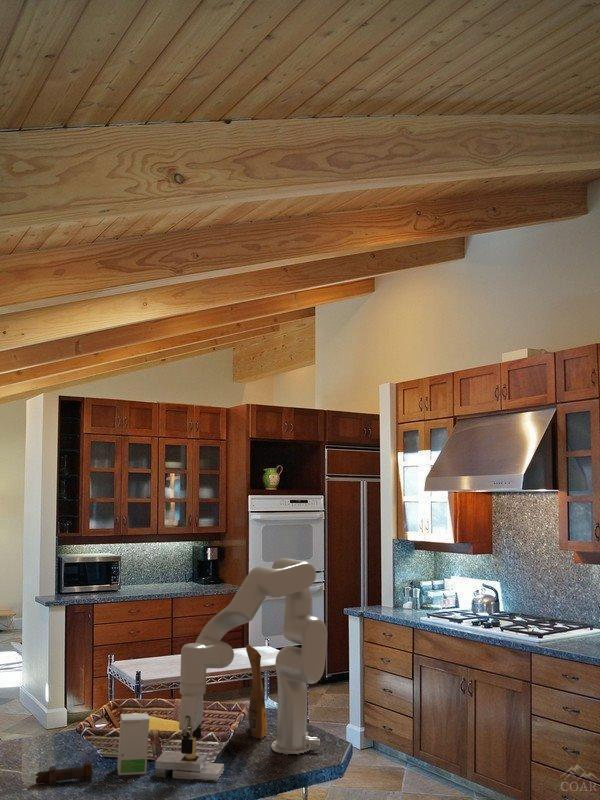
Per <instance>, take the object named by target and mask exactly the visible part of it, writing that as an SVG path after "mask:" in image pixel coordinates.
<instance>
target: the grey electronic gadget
mask: <svg viewBox="0 0 600 800" xmlns="http://www.w3.org/2000/svg"><path fill="white" fill-rule="evenodd" d="M199 754H201V753H196V762H193V761H185V754H182V753H181V752H176V751H175V752H174V751H163V752H162V753H161V754H160V755H159V757H157V759H156V760H155V764H154V765H155V766H154V777H155V778H156V777H157V778H166V777H167V776H168V774H169V773H170V772H171V770H172V779H182V780H184V779H185V780H193V779H204V780H203V781H207V780H214V781H213V782H219V780H218V779H220V778H221V777H222V775H223V774H224V772H223V771H225V763H218V762H217V763H215V762H206V760H207V761H208V754H204V755H202V754H201V755H199ZM221 774H222V775H221ZM220 776H221V777H220ZM219 777H220V778H219Z"/></svg>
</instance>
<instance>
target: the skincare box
mask: <svg viewBox="0 0 600 800" xmlns="http://www.w3.org/2000/svg"><path fill="white" fill-rule="evenodd" d="M119 716H120V720H119V721H120V722H119V738H118V750H117V765H116V767H117V774H118V776H129V775H130V776H131V775H146V774H147V768H148V767H147V764H148V751H149V750H148V748H149V735H150V734H149V733H150V732H149V731H150V730H149V729H150V716H149V713H136V712H135V713H133V712H131V713H121V714H119Z"/></svg>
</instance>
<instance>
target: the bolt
mask: <svg viewBox="0 0 600 800" xmlns="http://www.w3.org/2000/svg"><path fill="white" fill-rule="evenodd" d="M83 779H85V783H91V782H92V780H93V764H92V761H91V760H85V764H83V765H78V766H72V767H66V768H65V767H64V768H61V769H57V767H56V766H55V765H54V766H50V767H49V768H48V770H42V771H38V772H37V773H36V774H35V783H36V784H37V785H41V784H48V786H50V785H51V786H56V785H55V784H57V782H64V781H72V780H83Z"/></svg>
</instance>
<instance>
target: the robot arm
mask: <svg viewBox="0 0 600 800" xmlns="http://www.w3.org/2000/svg"><path fill="white" fill-rule="evenodd" d="M316 578H317V572H316V568H315V567H314V566H313V564H312V563H310V562H308V561H304V560H299V559H293V558H288V557H287V558H286V557H281V558H278V559H276V560H274V562H273V563H272V566H271V568H270V567H266V566H256V567H253V568H252V569H251V570H250V571H249V572H248V574H247V575H246V577H245V579H244V580H243V582H242V583H241V585H240V586H239V589H238V590H237V592H236V593H235V595H234V597H232V600H231V601H230V603H229V604H228V605H227V606H226V607H224V608H223V609H222V610H221V611H218V613H216V615H214V616H213V617H211V619H210V620H208V622H207V623H206V624H205V625H204V627H203V628H202V630H201V632H200V634H199V635H198V636H197V639H196V640H195V642H191V643H185V644H184V645H183V646H182V647H181V650H180V651H181V652H180V672H179V673H180V674H179V675H180V676H179V677H180V681H179V694H180V695H181V698H180V705H179V706H180V707H179V720H178V729H179V731H182V732H181V743H180V744H181V745H180V750H181V751H180V753H182V754H192V752H193V739H192V736H193V737H196V738H200V737H201V738H202V722H203V718H204V717H203V716H204V715H203V713H204V695H205V694H206V692H207V669H224V668H226V667H228V666H230V664H232V663H233V661H234V657H235V651H234V649H233V647H232V646H231V645H230V644H229V643H227V642H224V641H221V640H222V638H223V637H224V636H225V635H226V634H227V633H228V632H229V631H231V630H233V629H234V628H236V627H239V626H242V625H245V624H247V623H249V622H251V621H253V619H254V618H255V616H256V614H257V613H258V612H259V609H260V608H261V606H262V605H263V603H264V601H265V599H266V598H267V597H270V598H281V597H285V599H284V600H285V601H284V602H285V605H284V614H283V615H284V616H283V625H282V627H283V628H282V629H283V630H282V632H283V637H284V638H285V640H287V641H288V642H291V643H293V644H295V645H296V644H297V645H300V646H301V647H298V646H292V645H288V646H285V647H283V648H281V649H280V650H279V651H278V653H277V654H276V657H275V673H276V679H277V706H276V707H277V709H276V738H275V739H276V740H273V742H272V743H271V750H272V751H274V752H276V753H278V754H281V753H283V754H282V755H288V754H297V755H300V754H299V753H303V754H305V753H304V752H306V753H308V752H309V750H310V751H311V749H310V748H311V747H312V746H318V747H319V746H320V743H321V740H320V739H321V738H318V737H317V736H313V737H312V736H310V735H309V732H308V731H307V718H308V717H307V714H308V713H307V712H308V709H307V708H308V687H307V684H310V685H313V684H316V683H317V682H319V681H320V680H321V678H322V677H323V674H324V671H325V668H326V659H327V658H326V657H327V646H328V630H327V629H328V628H327V626H326V624H325V622H324V620H322V619H321V618H320V617H318V616H314V615H312V593H311V589H310V587H311V586H312V585H314V583H315V582H316ZM307 751H308V752H307Z"/></svg>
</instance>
